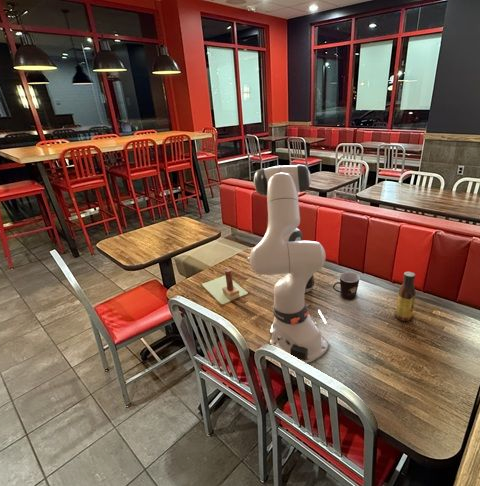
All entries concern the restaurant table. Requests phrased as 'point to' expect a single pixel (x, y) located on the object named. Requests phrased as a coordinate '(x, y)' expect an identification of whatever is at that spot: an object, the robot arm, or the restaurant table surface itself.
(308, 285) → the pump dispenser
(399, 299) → the sauce bottle
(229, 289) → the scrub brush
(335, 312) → the restaurant table surface
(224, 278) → the scrub mat
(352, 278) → the coffee mug
